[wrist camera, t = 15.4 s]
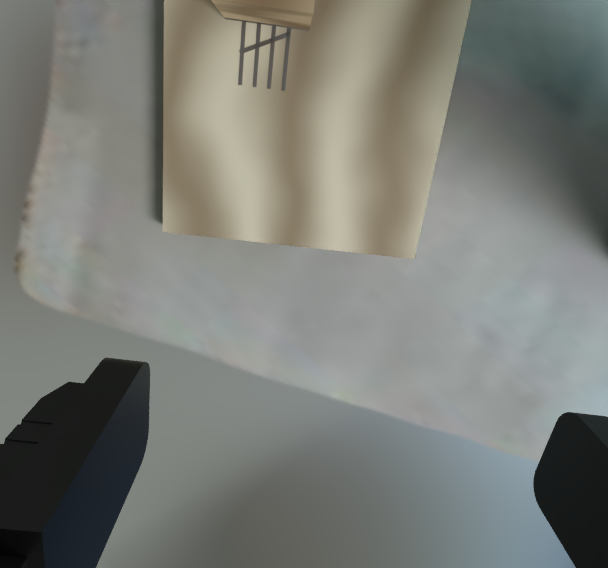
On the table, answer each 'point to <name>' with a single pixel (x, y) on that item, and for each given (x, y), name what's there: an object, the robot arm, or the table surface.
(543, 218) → the table surface
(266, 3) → the block
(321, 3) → the board
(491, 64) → the table surface
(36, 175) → the table surface
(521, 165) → the table surface
